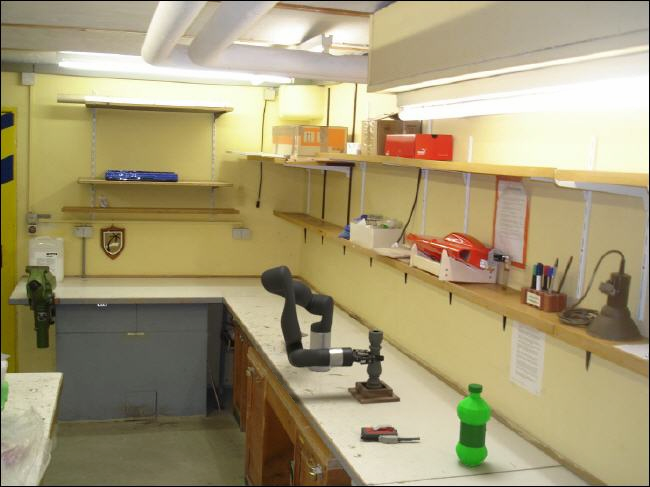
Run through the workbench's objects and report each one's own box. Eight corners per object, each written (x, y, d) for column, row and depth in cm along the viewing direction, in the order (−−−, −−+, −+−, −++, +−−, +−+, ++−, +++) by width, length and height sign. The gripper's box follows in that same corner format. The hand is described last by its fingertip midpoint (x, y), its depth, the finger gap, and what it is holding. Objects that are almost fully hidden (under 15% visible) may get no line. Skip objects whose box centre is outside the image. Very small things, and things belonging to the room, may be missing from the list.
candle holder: (371, 389, 294) (374, 328, 291) (384, 393, 290) (387, 331, 287) (362, 393, 289) (364, 331, 286) (375, 396, 285) (377, 334, 282)
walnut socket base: (348, 390, 295) (348, 380, 295) (385, 388, 300) (385, 378, 299) (361, 403, 280) (361, 393, 280) (399, 401, 285) (400, 390, 284)
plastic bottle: (455, 454, 236) (460, 378, 233) (489, 459, 233) (494, 383, 230) (451, 466, 226) (456, 388, 223) (486, 471, 223) (491, 392, 220)
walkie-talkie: (361, 444, 242) (420, 444, 244) (361, 432, 241) (421, 431, 243) (357, 434, 250) (414, 434, 253) (357, 422, 250) (415, 422, 252)
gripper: (344, 352, 278) (387, 351, 281) (336, 342, 292) (377, 342, 295) (343, 371, 279) (386, 370, 282) (335, 361, 292) (376, 360, 296)
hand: (381, 356), depth 288 cm, fingers open, 5 cm apart
